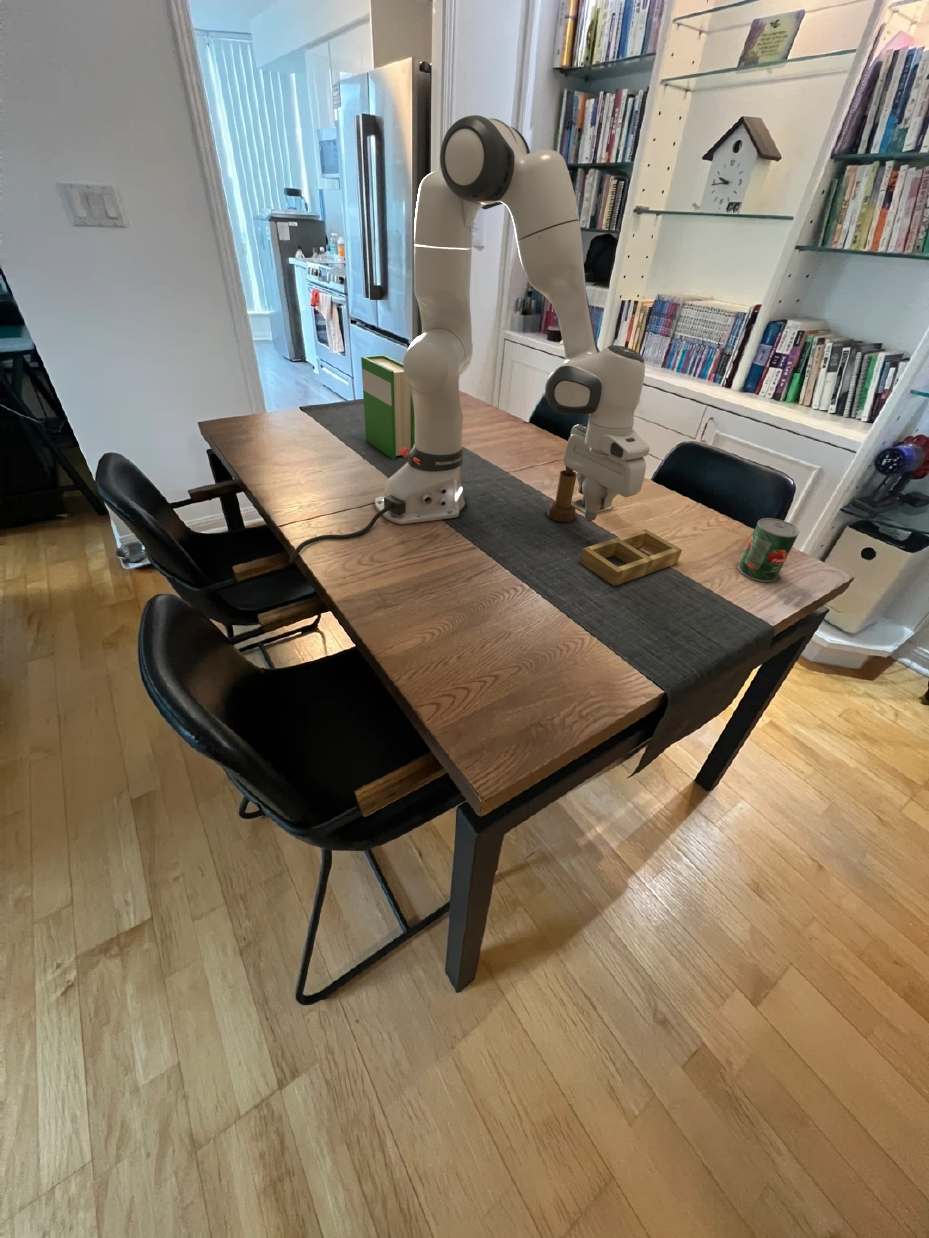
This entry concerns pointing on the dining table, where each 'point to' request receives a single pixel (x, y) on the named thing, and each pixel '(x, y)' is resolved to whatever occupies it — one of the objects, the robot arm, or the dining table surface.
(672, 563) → the rack
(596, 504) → the lightbulb
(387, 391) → the hardback book
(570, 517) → the mortar and pestle
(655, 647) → the dining table surface
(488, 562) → the dining table surface
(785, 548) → the canned tomato
